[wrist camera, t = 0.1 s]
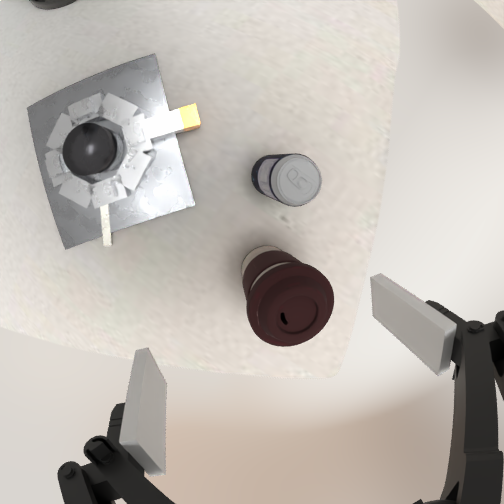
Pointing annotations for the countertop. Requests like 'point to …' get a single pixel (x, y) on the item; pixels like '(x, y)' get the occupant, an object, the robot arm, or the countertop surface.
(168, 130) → the segmented block ring
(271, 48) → the countertop surface
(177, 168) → the flange plate
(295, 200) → the beverage can
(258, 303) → the coffee cup
